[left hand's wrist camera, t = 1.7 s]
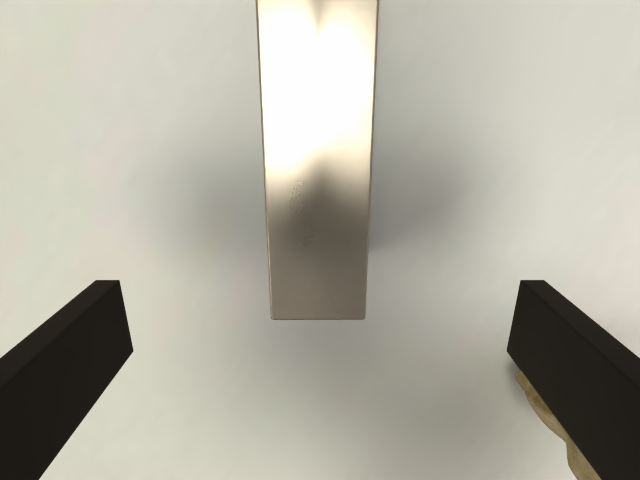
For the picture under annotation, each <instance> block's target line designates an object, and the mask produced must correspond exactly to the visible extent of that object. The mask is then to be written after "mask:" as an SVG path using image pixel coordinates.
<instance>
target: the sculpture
mask: <svg viewBox="0 0 640 480" xmlns="http://www.w3.org/2000/svg"><path fill="white" fill-rule="evenodd" d="M515 378H516V380H517V381H518V383H519V384H520V385H521V387H522V388H523V390H524V391H525V394H526V396H527V399H528V401H529V403H530V404H531V406H532V408H533V409H534V411H535V412H536V413H537V415H538V416H539V417H540V419H541V420H542V421H543V422H544V423H545V425H546V426H547V427H548V428H549V429H551V430H552V431H553V432H554V433H555V434H556V435H558V436H559V437H560V438H562V439H563V440H564V441H565V442H566V446H567V459H568V465H569V467H570V469H571V471H572V472H573V474H574V475H575V477H576V478H577V480H601V479H600V477H599V476H598V475H597V473H596V472H595V470H594V469H593V468H592V466H591V465H590V464H589V462H588V461H587V460H586V458H585V457H584V456H583V454H582V453H581V451H580V450H579V449H578V447H577V446H576V445H575V443H574V442H573V441H572V439H571V438H570V436H569V435H568V434H567V432H566V431H565V430H564V428H563V427H562V426H561V424H560V423H559V422H558V420H557V419H556V417H555V416H554V415H553V413H552V412H551V411H550V409H549V408H548V407H547V405H546V404H545V403H544V401H543V400H542V398H541V397H540V396H539V394H538V393H537V392H536V390H535V389H534V388H533V386H532V385H531V383H530V382H529V381H528V379H527V378H526V377H525V375H524V374H523V373H522V371H521V370H520V371H519V372H518V373H517V374H516V376H515Z"/></svg>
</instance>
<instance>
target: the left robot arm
mask: <svg viewBox="0 0 640 480" xmlns="http://www.w3.org/2000/svg"><path fill="white" fill-rule="evenodd" d="M132 352H133V347H132V342H131V337H130V331H129V326H128V321H127V316H126V311H125V306H124V301H123V296H122V291H121V286H120V281H119V280H96V281H94V282H93V283H92V284H91V285H90V286H88V287H87V288H86V289H85V290H83V291H82V292H81V293H80V294H78V295H77V296H76V297H75V298H74V299H72V300H71V301H70V302H69V303H67V304H66V305H65V306H64V307H63V308H61V309H60V310H59V311H58V312H56V313H55V314H54V315H53V316H52V317H50V318H49V319H48V320H47V321H45V322H44V323H43V324H42V325H41V326H39V327H38V328H37V329H36V330H34V331H33V332H32V333H31V334H30V335H28V336H27V337H26V338H25V339H23V340H22V341H21V342H20V343H18V344H17V345H16V346H15V347H14V348H12V349H11V350H10V351H9V352H7V353H6V354H5V355H4V356H3V357H1V358H0V480H39V479H40V477H41V476H42V475H43V473H44V472H45V470H46V469H47V468H48V466H49V465H50V464H51V462H52V461H53V460H54V458H55V457H56V456H57V454H58V453H59V451H60V450H61V449H62V447H63V446H64V445H65V443H66V442H67V441H68V439H69V438H70V436H71V435H72V434H73V432H74V431H75V430H76V428H77V427H78V426H79V424H80V423H81V422H82V420H83V419H84V417H85V416H86V415H87V413H88V412H89V411H90V409H91V408H92V407H93V405H94V404H95V403H96V401H97V400H98V398H99V397H100V396H101V394H102V393H103V392H104V390H105V389H106V388H107V386H108V385H109V383H110V382H111V381H112V379H113V378H114V377H115V375H116V374H117V373H118V371H119V370H120V369H121V367H122V366H123V364H124V363H125V362H126V360H127V359H128V358H129V356H130V355H131V354H132ZM507 352H508V354H509V355H510V356H511V358H512V359H513V360H514V362H515V363H516V364H517V366H518V367H519V369H520V370H521V371H522V373H523V374H524V375H525V377H526V378H527V379H528V381H529V382H530V383H531V385H532V386H533V388H534V389H535V390H536V392H537V393H538V394H539V396H540V397H541V398H542V400H543V401H544V403H545V404H546V405H547V407H548V408H549V409H550V411H551V412H552V413H553V415H554V416H555V417H556V419H557V420H558V422H559V423H560V424H561V426H562V427H563V428H564V430H565V431H566V432H567V434H568V435H569V436H570V438H571V439H572V441H573V442H574V443H575V445H576V446H577V447H578V449H579V450H580V451H581V453H582V454H583V456H584V457H585V458H586V460H587V461H588V462H589V464H590V465H591V466H592V468H593V469H594V470H595V472H596V473H597V475H598V476H599V477H600V479H601V480H640V358H639V357H637V356H636V355H635V354H634V353H633V352H631V351H630V350H629V349H628V348H626V347H625V346H624V345H623V344H622V343H620V342H619V341H618V340H617V339H615V338H614V337H613V336H612V335H610V334H609V333H608V332H607V331H606V330H604V329H603V328H602V327H601V326H599V325H598V324H597V323H596V322H595V321H593V320H592V319H591V318H590V317H588V316H587V315H586V314H585V313H584V312H582V311H581V310H580V309H579V308H577V307H576V306H575V305H574V304H573V303H571V302H570V301H569V300H568V299H566V298H565V297H564V296H563V295H562V294H560V293H559V292H558V291H557V290H555V289H554V288H553V287H552V286H550V285H549V284H548V283H547V282H546V281H544V280H521V281H520V286H519V291H518V296H517V301H516V306H515V311H514V316H513V321H512V326H511V331H510V337H509V342H508V347H507Z"/></svg>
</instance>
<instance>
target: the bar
mask: <svg viewBox="0 0 640 480" xmlns="http://www.w3.org/2000/svg"><path fill="white" fill-rule="evenodd" d="M378 15H379V0H256V19H257V39H258V60H259V81H260V102H261V123H262V143H263V164H264V185H265V206H266V227H267V247H268V268H269V289H270V310H271V319H272V320H363V319H365V310H366V287H367V264H368V242H369V219H370V196H371V174H372V151H373V128H374V106H375V83H376V61H377V38H378Z"/></svg>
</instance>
